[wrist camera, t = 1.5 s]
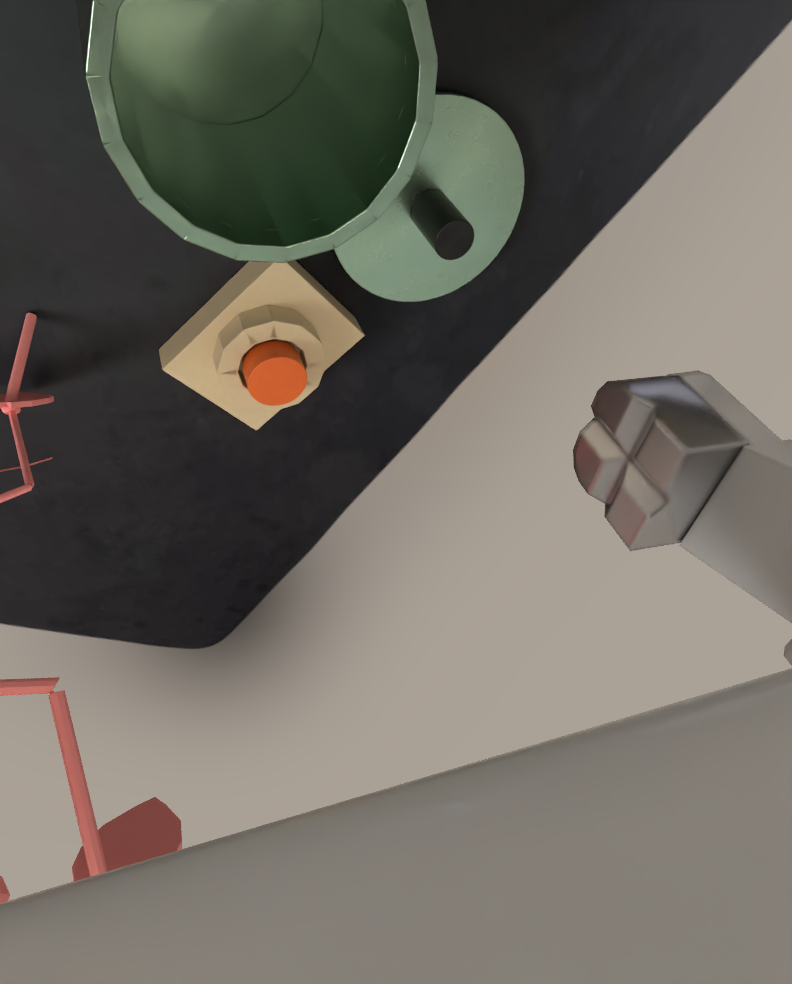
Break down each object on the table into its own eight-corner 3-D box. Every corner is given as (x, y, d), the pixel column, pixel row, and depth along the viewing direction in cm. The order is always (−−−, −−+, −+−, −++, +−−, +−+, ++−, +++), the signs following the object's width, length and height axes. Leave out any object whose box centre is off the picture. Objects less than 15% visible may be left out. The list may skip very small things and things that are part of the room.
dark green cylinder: (200, -261, 26) (278, -260, 17) (380, 17, 34) (494, 112, 25) (14, -18, 29) (-1, 87, 20) (221, 182, 37) (274, 317, 28)
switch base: (272, 238, 40) (287, 272, 38) (355, 317, 46) (373, 351, 43) (158, 349, 43) (165, 388, 40) (250, 410, 49) (261, 448, 46)
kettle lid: (451, 32, 35) (491, 61, 32) (548, 200, 44) (587, 237, 41) (280, 201, 39) (301, 244, 36) (402, 327, 48) (428, 370, 44)
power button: (272, 329, 40) (278, 346, 39) (312, 362, 43) (319, 378, 42) (229, 368, 41) (234, 386, 40) (271, 398, 44) (277, 415, 43)
